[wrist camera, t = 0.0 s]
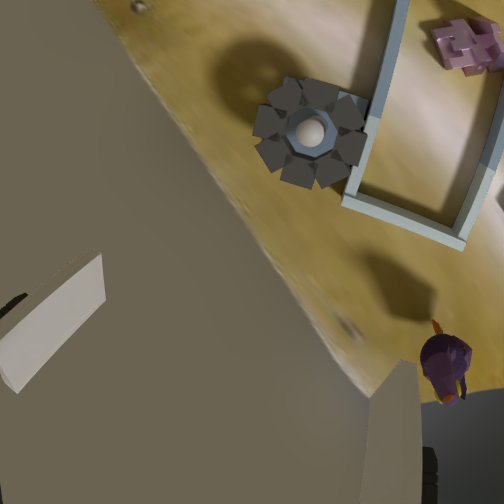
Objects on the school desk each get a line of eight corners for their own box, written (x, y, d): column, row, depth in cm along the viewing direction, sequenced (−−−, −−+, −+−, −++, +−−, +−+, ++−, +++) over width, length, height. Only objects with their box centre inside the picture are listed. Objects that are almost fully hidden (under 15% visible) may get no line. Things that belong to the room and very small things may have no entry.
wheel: (272, 70, 25) (267, 68, 23) (376, 99, 24) (378, 99, 22) (251, 165, 30) (244, 170, 28) (346, 194, 29) (346, 201, 27)
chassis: (310, -22, 24) (299, -48, 17) (515, 60, 20) (548, 58, 14) (264, 172, 36) (244, 191, 30) (455, 240, 33) (473, 272, 26)
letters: (448, 80, 25) (466, 79, 20) (425, 23, 23) (438, 10, 18) (503, 71, 22) (528, 70, 17) (482, 15, 19) (503, 5, 14)
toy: (423, 395, 37) (465, 400, 32) (402, 401, 29) (456, 408, 25) (435, 322, 40) (477, 322, 35) (417, 306, 32) (471, 307, 28)
